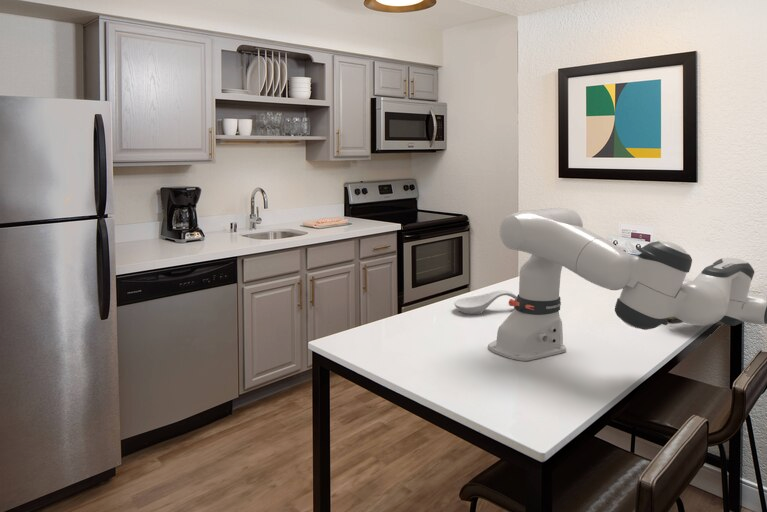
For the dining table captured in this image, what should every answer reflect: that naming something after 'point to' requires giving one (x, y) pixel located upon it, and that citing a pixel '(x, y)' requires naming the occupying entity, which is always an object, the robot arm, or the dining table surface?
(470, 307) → the spoon rest
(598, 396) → the dining table surface
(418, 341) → the dining table surface
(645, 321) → the robot arm
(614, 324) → the dining table surface
